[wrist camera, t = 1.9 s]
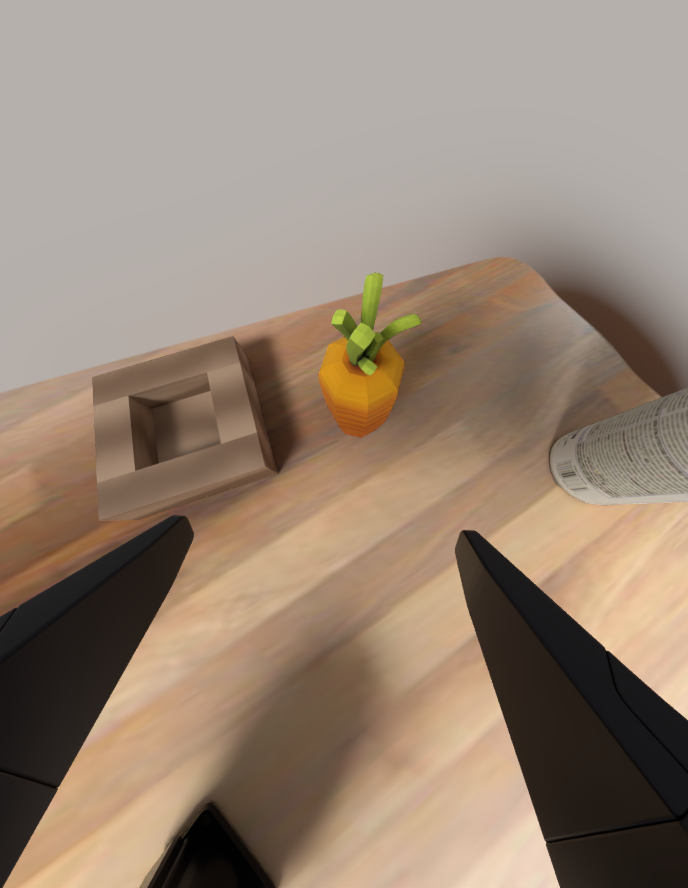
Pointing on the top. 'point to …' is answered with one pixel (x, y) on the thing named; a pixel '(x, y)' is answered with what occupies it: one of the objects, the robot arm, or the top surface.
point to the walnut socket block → (177, 431)
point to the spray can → (628, 456)
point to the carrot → (363, 366)
